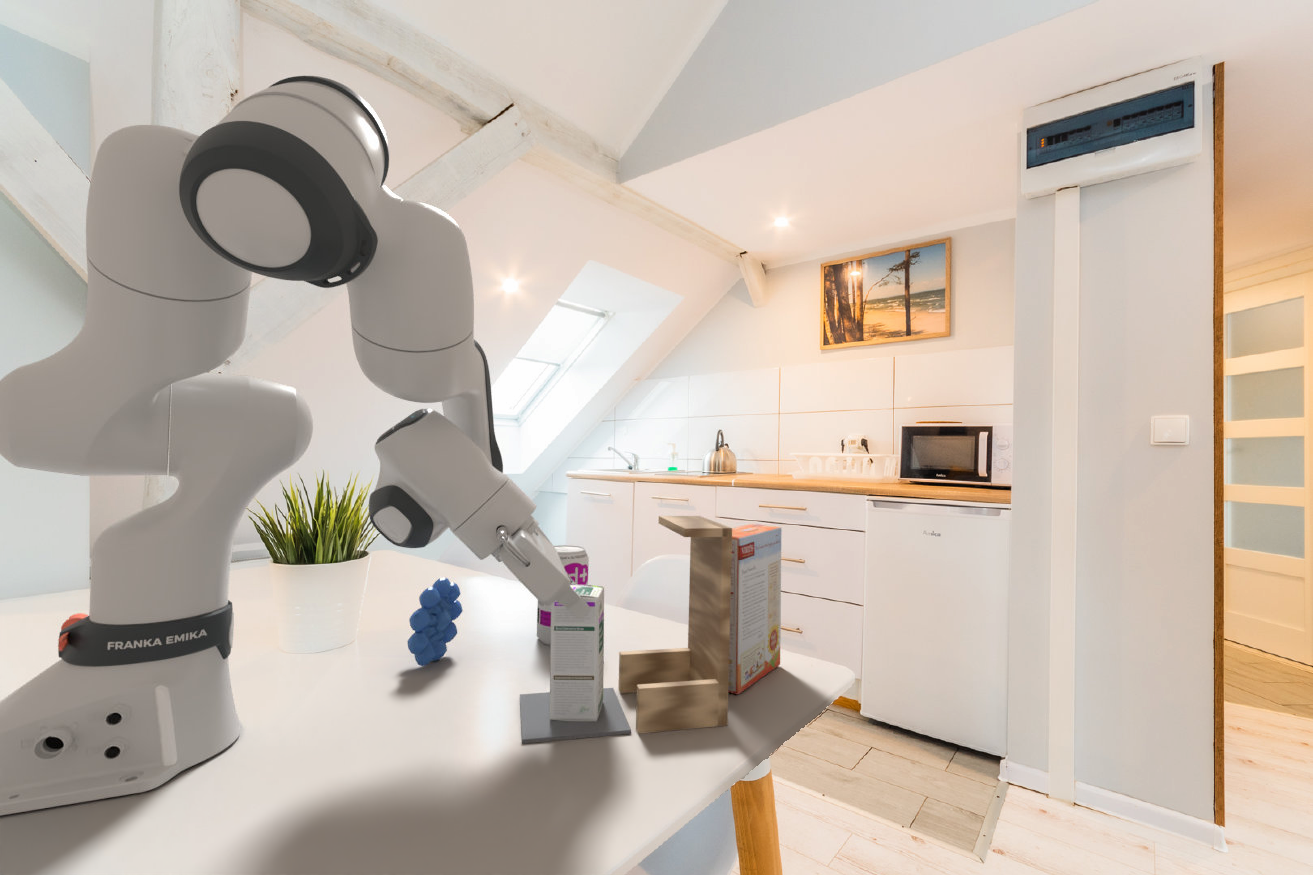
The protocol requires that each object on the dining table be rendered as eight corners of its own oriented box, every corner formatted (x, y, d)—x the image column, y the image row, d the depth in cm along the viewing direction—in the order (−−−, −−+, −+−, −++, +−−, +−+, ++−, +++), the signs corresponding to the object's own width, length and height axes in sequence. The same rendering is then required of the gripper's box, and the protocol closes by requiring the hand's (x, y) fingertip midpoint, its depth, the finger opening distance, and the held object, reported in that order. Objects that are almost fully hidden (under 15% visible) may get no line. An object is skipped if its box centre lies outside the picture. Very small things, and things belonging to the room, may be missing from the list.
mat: (521, 743, 64) (521, 739, 64) (519, 697, 76) (520, 694, 76) (631, 733, 67) (631, 729, 67) (613, 690, 79) (613, 687, 79)
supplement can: (595, 641, 99) (597, 550, 99) (548, 650, 94) (551, 554, 94) (573, 628, 105) (575, 543, 105) (528, 636, 101) (531, 546, 101)
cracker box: (745, 657, 93) (748, 522, 93) (781, 666, 90) (784, 526, 90) (698, 685, 82) (702, 531, 82) (738, 696, 78) (741, 536, 78)
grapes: (432, 645, 95) (434, 569, 95) (470, 649, 93) (473, 572, 93) (383, 671, 83) (386, 585, 84) (426, 677, 82) (428, 589, 82)
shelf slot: (637, 733, 67) (643, 528, 68) (618, 689, 79) (623, 516, 80) (727, 725, 70) (732, 528, 70) (695, 683, 82) (699, 515, 82)
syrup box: (598, 722, 69) (601, 596, 69) (547, 720, 69) (550, 594, 69) (603, 701, 75) (606, 584, 75) (556, 700, 75) (559, 583, 75)
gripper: (521, 513, 60) (614, 606, 62) (518, 496, 80) (588, 567, 82) (473, 558, 59) (569, 652, 61) (482, 529, 79) (555, 601, 81)
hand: (580, 603), depth 72 cm, fingers open, 7 cm apart
